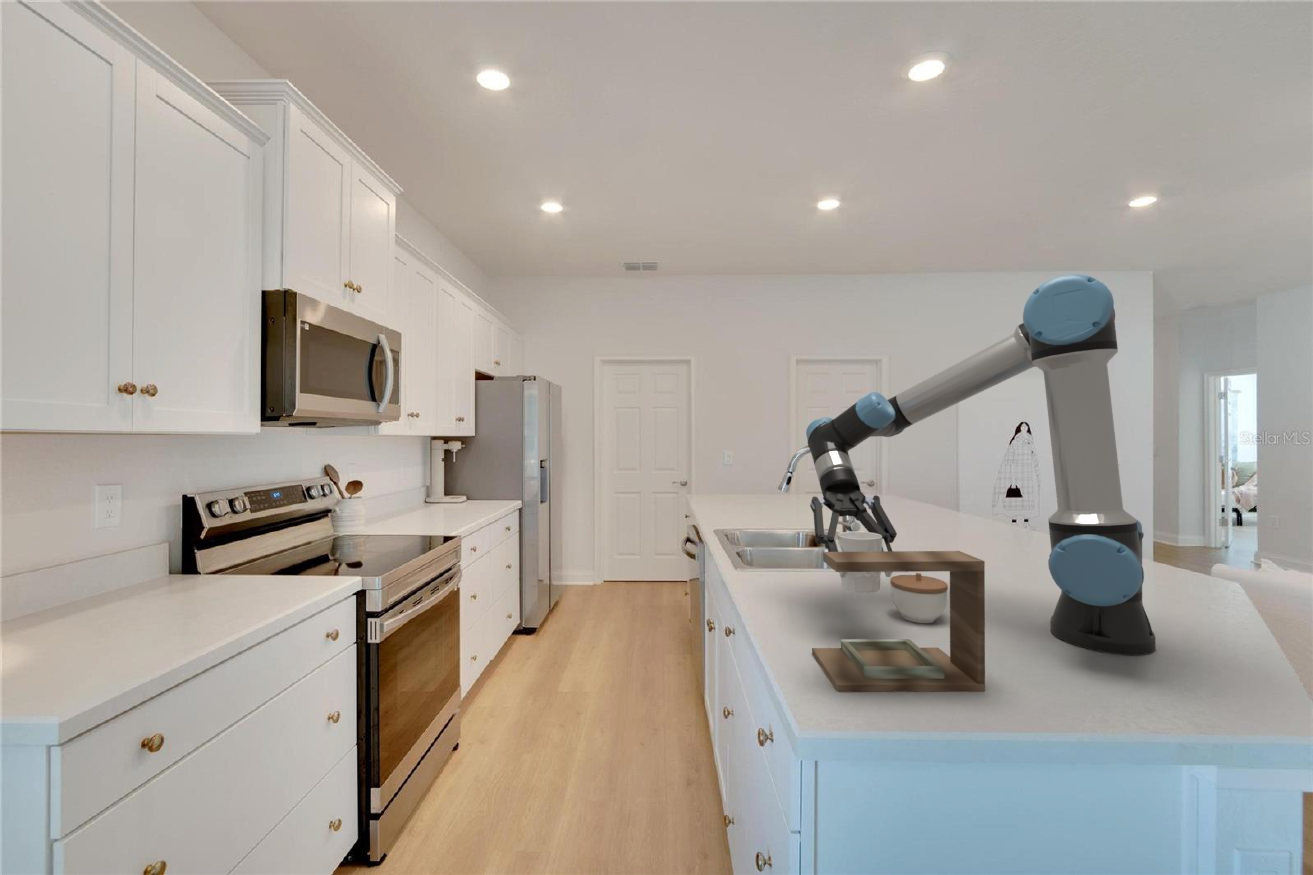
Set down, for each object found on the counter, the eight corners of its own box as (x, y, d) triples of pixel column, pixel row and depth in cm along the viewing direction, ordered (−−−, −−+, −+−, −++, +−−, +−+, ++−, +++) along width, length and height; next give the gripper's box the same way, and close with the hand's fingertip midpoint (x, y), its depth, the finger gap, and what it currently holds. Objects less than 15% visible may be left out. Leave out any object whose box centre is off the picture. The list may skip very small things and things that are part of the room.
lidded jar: (949, 615, 115) (949, 571, 115) (945, 631, 106) (945, 583, 106) (895, 607, 121) (895, 564, 121) (886, 621, 112) (886, 575, 112)
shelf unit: (937, 653, 96) (937, 542, 96) (984, 691, 82) (984, 561, 82) (812, 653, 96) (811, 543, 96) (837, 691, 82) (836, 562, 82)
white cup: (884, 584, 105) (883, 532, 105) (882, 595, 97) (881, 540, 97) (841, 581, 108) (839, 530, 108) (836, 591, 101) (835, 537, 101)
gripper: (880, 488, 118) (917, 583, 102) (785, 490, 118) (807, 585, 102) (890, 465, 113) (930, 561, 96) (791, 467, 113) (814, 563, 97)
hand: (867, 573), depth 99 cm, fingers closed on white cup, 8 cm apart
